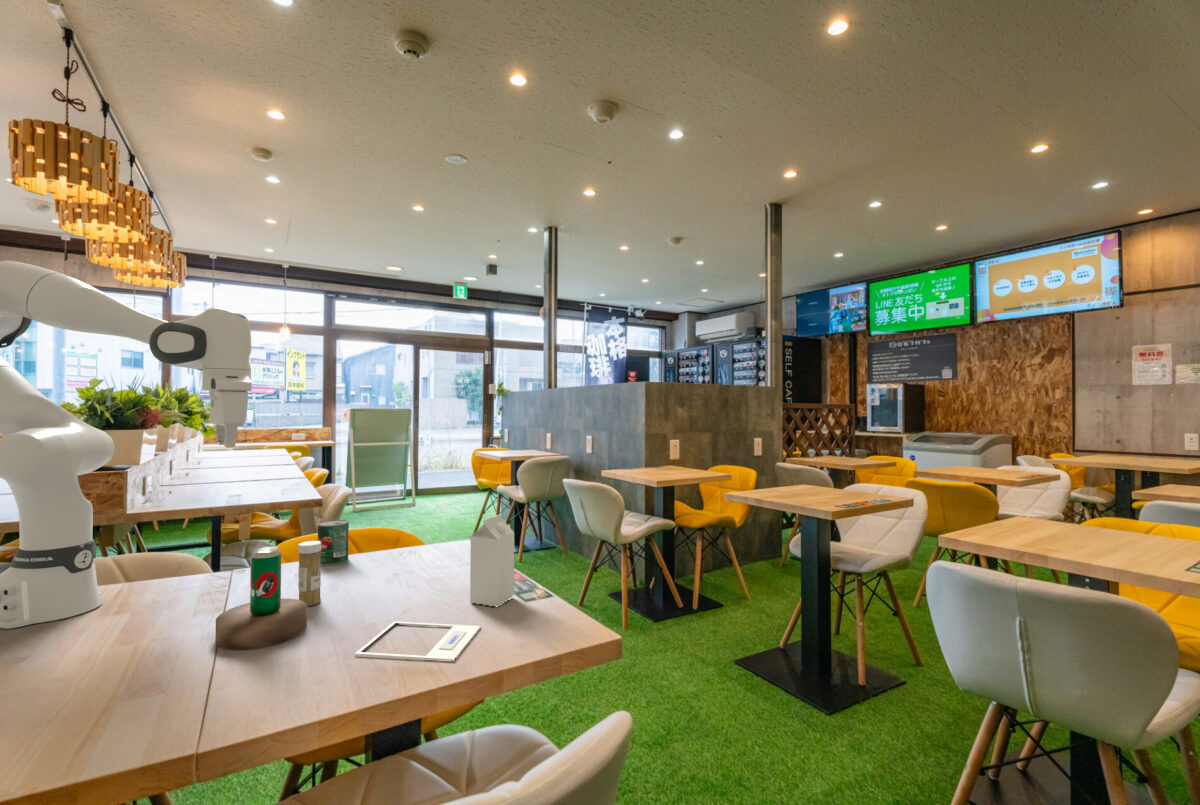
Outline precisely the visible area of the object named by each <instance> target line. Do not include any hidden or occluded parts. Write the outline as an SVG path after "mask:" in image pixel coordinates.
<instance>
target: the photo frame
mask: <svg viewBox="0 0 1200 805" xmlns="http://www.w3.org/2000/svg"><path fill="white" fill-rule="evenodd" d="M395 623H398V624H397V625H399V626H400V625H407V626H406V627H417V626H435V627H434V628H437V627H452V628H449V630H448V632H446V633H445V634H444V636H442V638H441V639H440V640H438V642H437V643H436V644H435V645H434V646H433V647H432V649H431V650H429V651H428V653H427V654H426V655H416V654H399V653H382V652H366V651H365V652H364V651H363V650H365V649H366V648H368V647H369V645H371V644H372V643H373V642H374V641H376V640H377V639H379V637H381V636H382V635H383V634H384V633H385V632H386V631H388V630H389V629H390V628H392V627H393V626H394V625H396V624H395ZM399 623H400V624H399ZM408 625H410V626H408ZM436 626H437V627H436ZM480 627H481V628H482V625H472V624H471V625H470V624H450V623H449V624H448V623H447V624H446V623H433V622H432V623H431V622H412V621H411V622H410V621H393V622H391V623H390V624H389V625H388V626H387V627H386V628H385V627H384V629H383V630H381V632H379V633H378V634H377V635H375V636H374V637H373V638H372V639H371V640H369V641H368V642H367V643H366V644H364V646H362V647H361V648H359V649H358V650H357V651H356V652H355V653H354V657H356V658H374V659H388V658H389V659H390V660H392V659H393V660H405V659H408V660H409V661H410V659H411V661H423V660H455V658H456V657H457V656H458V655H459V653H460V652H461V651H462V650H463V649H464V648H465V646H466V645H467V644H468V643H469V641H470V640H471V639H472V638H473V639H474V637H475V636H476V635H477V634H478V632H479V631H480V630H481V629H480ZM479 629H480V630H479ZM478 630H479V631H478ZM477 631H478V632H477ZM476 633H477V634H476ZM475 634H476V635H475ZM474 635H475V636H474ZM473 636H474V637H473ZM473 639H472V640H473ZM472 640H471V641H472ZM471 641H470V642H471ZM469 644H470V643H469ZM469 644H468V645H469ZM468 645H467V646H468ZM467 646H466V647H467ZM465 649H466V648H465ZM465 649H464V650H465ZM464 650H463V651H464ZM463 651H462V652H463ZM459 656H460V655H459ZM459 656H458V657H459ZM455 661H456V660H455Z"/></svg>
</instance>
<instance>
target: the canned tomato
mask: <svg viewBox="0 0 1200 805" xmlns="http://www.w3.org/2000/svg"><path fill="white" fill-rule="evenodd" d="M349 524H350V521H349V520H348V519H347V520H346V519H331V520H328V519H327V520H323V521H320V522H318V523H317V541H320V542H321V552H320V566H323V565H329V566H335V564H338V565H340V564H339V563H342V564H344V562H345V563H347V562H348V561H349V538H350V537H349V529H350V528H349ZM346 561H347V562H346Z"/></svg>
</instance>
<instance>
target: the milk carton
mask: <svg viewBox="0 0 1200 805" xmlns="http://www.w3.org/2000/svg"><path fill="white" fill-rule="evenodd" d="M502 516H503V515H502V513H499V514H497V515H494V516H491V517H489V518H485V519H483V525H482V526H480V527H479V528H478V529H477V530H476V531H474V533H473V534H471V535H470V570H469V571H470V573H469V574H470V576H469V577H470V578H469V580H470V581H469V583H470V584H469V588H470V589H469V590H470V591H469V592H470V594H469V602H470V604H473V603H476V604H475V605H479V604H483V605H482V606H485V605H491V606H499V605H500V604H502V603H503V602H505V601H506V600H508V599H509V598H511V597H512V596H513V595H514V596H515V532H514V530H513V529H512V528H511V527H510V526H509V525H508V524H507V523H506V522H505V521H504V519H503V518H502ZM502 605H503V604H502ZM491 606H490V607H491ZM499 607H500V606H499Z"/></svg>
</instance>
